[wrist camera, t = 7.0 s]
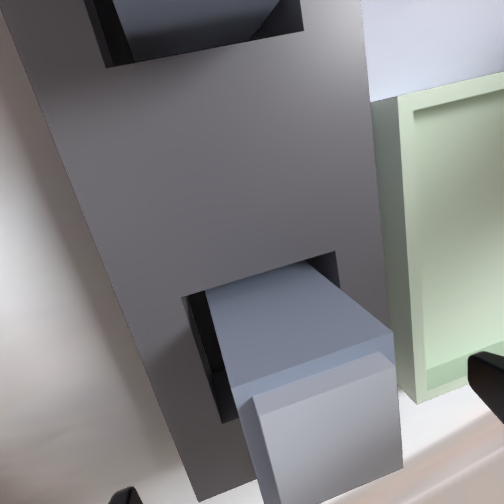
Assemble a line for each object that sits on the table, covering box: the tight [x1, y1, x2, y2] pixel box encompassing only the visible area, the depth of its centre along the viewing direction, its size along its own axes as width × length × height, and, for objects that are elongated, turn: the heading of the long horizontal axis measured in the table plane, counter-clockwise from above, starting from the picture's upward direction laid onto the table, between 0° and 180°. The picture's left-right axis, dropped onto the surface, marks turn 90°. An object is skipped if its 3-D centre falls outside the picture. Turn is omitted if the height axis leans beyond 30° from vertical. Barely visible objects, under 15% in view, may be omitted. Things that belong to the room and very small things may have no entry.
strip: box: [0, 0, 390, 502], centre depth 11 cm, size 9×22×4 cm, turn 13°
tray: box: [370, 72, 504, 405], centre depth 16 cm, size 9×14×2 cm, turn 13°
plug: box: [205, 260, 403, 504], centre depth 11 cm, size 4×4×8 cm
